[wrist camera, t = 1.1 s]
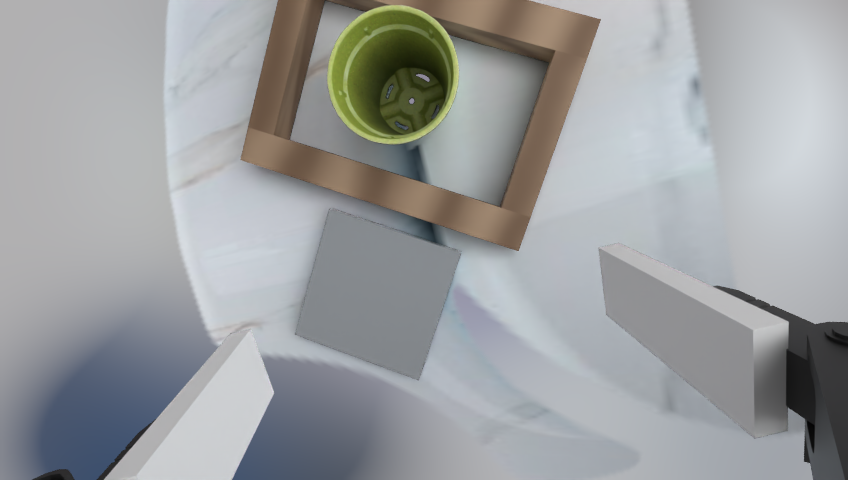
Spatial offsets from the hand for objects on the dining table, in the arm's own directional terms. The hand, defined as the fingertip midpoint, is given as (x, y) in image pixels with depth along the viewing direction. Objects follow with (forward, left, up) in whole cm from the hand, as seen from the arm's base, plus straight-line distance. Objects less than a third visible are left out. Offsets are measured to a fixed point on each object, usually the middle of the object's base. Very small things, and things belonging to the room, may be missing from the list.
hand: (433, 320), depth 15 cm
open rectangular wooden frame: (+8, -11, -23) cm, 27 cm away
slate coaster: (+6, +7, -23) cm, 25 cm away
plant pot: (+8, -11, -23) cm, 27 cm away
